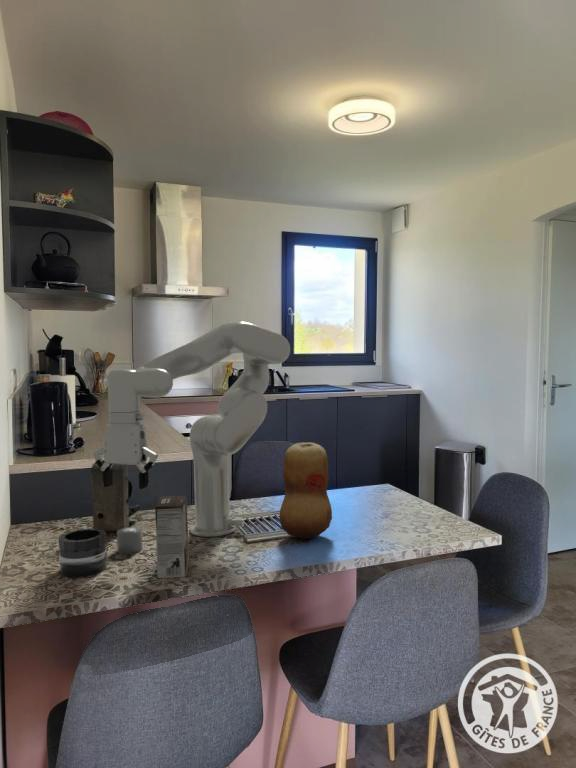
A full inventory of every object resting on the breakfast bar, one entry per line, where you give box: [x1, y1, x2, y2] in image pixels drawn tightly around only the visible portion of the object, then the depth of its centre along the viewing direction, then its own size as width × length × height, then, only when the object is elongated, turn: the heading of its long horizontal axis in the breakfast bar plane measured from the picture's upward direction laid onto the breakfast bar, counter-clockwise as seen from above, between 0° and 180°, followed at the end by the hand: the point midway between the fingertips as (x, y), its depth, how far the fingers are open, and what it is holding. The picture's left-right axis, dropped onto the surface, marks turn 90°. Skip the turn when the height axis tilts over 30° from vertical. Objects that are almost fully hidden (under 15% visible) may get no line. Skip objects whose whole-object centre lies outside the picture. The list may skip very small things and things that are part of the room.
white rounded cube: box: [116, 526, 143, 555], centre depth 147 cm, size 6×6×5 cm
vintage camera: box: [90, 461, 143, 533], centre depth 168 cm, size 10×16×20 cm, turn 174°
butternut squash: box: [279, 441, 333, 540], centre depth 153 cm, size 14×13×25 cm
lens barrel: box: [58, 527, 108, 578], centre depth 134 cm, size 10×10×8 cm
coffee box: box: [155, 495, 190, 579], centre depth 132 cm, size 9×6×16 cm
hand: (125, 486), depth 146 cm, fingers open, 9 cm apart
